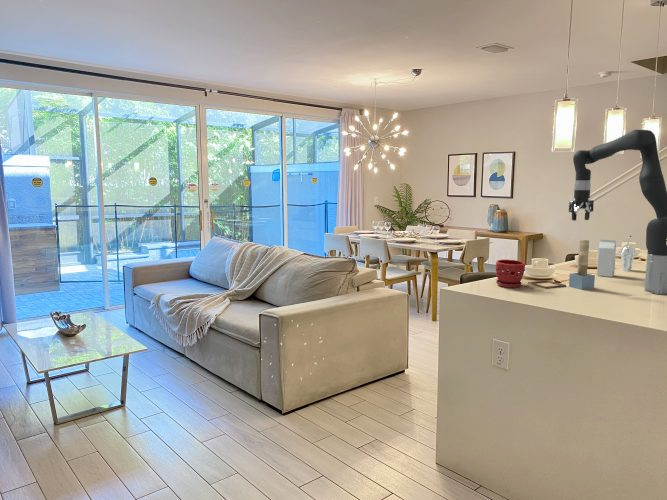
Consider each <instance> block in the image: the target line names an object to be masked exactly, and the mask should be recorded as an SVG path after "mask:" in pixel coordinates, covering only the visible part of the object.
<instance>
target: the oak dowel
mask: <svg viewBox="0 0 667 500" xmlns="http://www.w3.org/2000/svg"><path fill="white" fill-rule="evenodd" d="M578 241H579V242H578V243H579V244H578V255H577V256H578V259H577V272H576V273H577V275H580V276H587V274H588V267H589V265H588V263H589V251H590V250H589V249H590V240H588V239H579V240H578Z"/></svg>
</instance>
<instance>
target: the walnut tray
mask: <svg viewBox="0 0 667 500" xmlns="http://www.w3.org/2000/svg"><path fill="white" fill-rule="evenodd" d="M541 283H550V284H553V285H547V286H545V285H542V284H541ZM527 285H530V286H534V287H538V288H541V289H545V290H547V289H556V288H566V287H567V284H564V283H561V282H556V281H552V280H549V279H548V280H545V279H544V280H536V281H527Z"/></svg>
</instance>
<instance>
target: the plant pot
mask: <svg viewBox="0 0 667 500" xmlns="http://www.w3.org/2000/svg"><path fill="white" fill-rule="evenodd" d="M525 269H526V263H525V262H524V261H520V260H515V259H497V260H496V261H495V274H496V275H495V276H496V277H497V279H496V281H495V283H496V285H498V286H500V287H504V288H513V289H514V288H519V287H521V286H522V284H523V283H522V282H521V281H522V280H523V277H524V273H525Z"/></svg>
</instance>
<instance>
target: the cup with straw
mask: <svg viewBox="0 0 667 500" xmlns="http://www.w3.org/2000/svg"><path fill="white" fill-rule="evenodd" d="M630 238H632V235H629V236H628V237H627V245H625V246H622V247H621V249H620V250H619V252H618V254H620V262H621V271H624V272H631V271H632V268H633V263H634V259H635V257H636V255H637V251H636V249H635V248H634V247H633V246H631V245H630Z"/></svg>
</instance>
